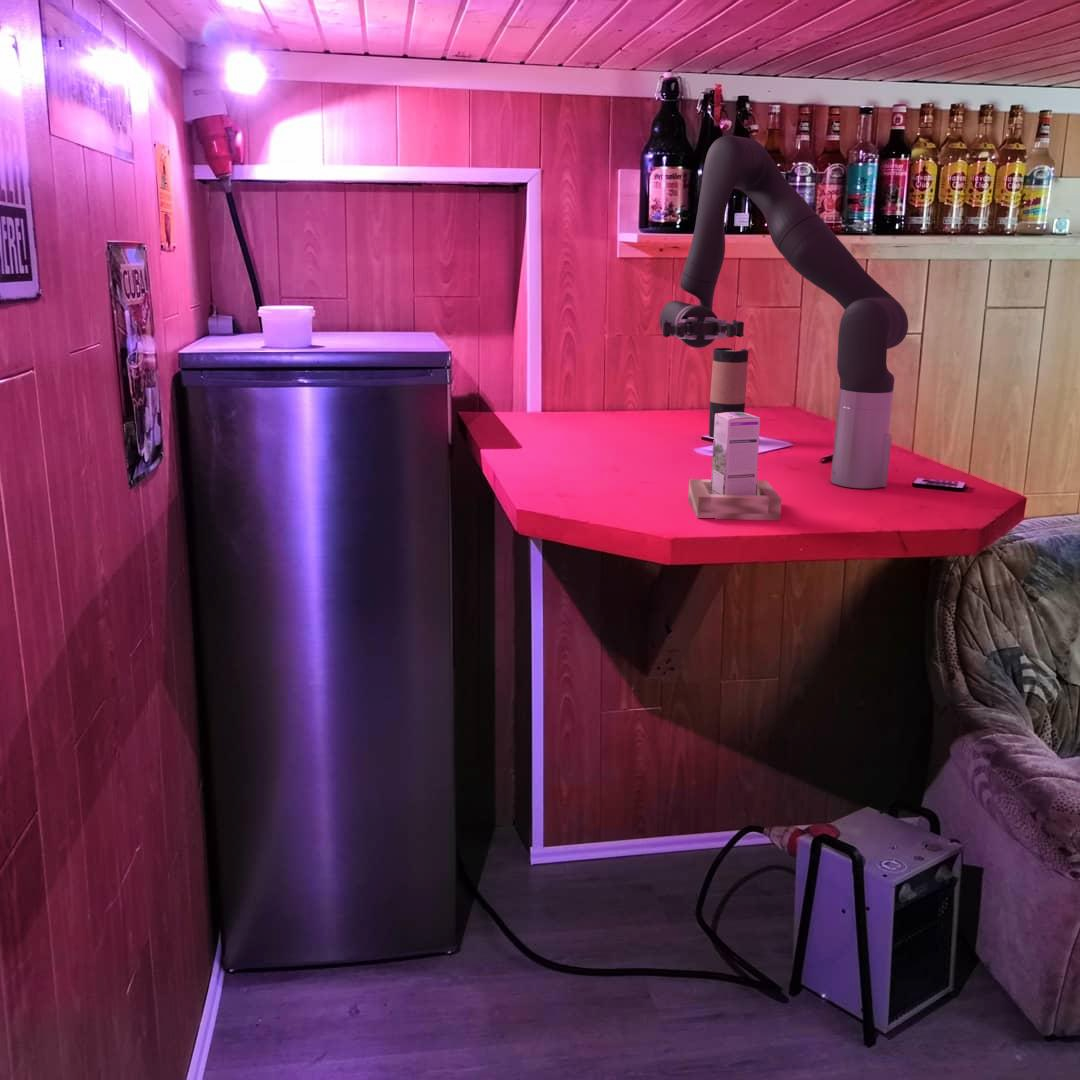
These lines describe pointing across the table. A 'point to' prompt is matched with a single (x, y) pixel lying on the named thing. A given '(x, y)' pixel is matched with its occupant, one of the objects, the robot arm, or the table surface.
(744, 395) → the travel mug
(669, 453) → the table surface
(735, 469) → the syrup box
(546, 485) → the table surface
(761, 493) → the holder
